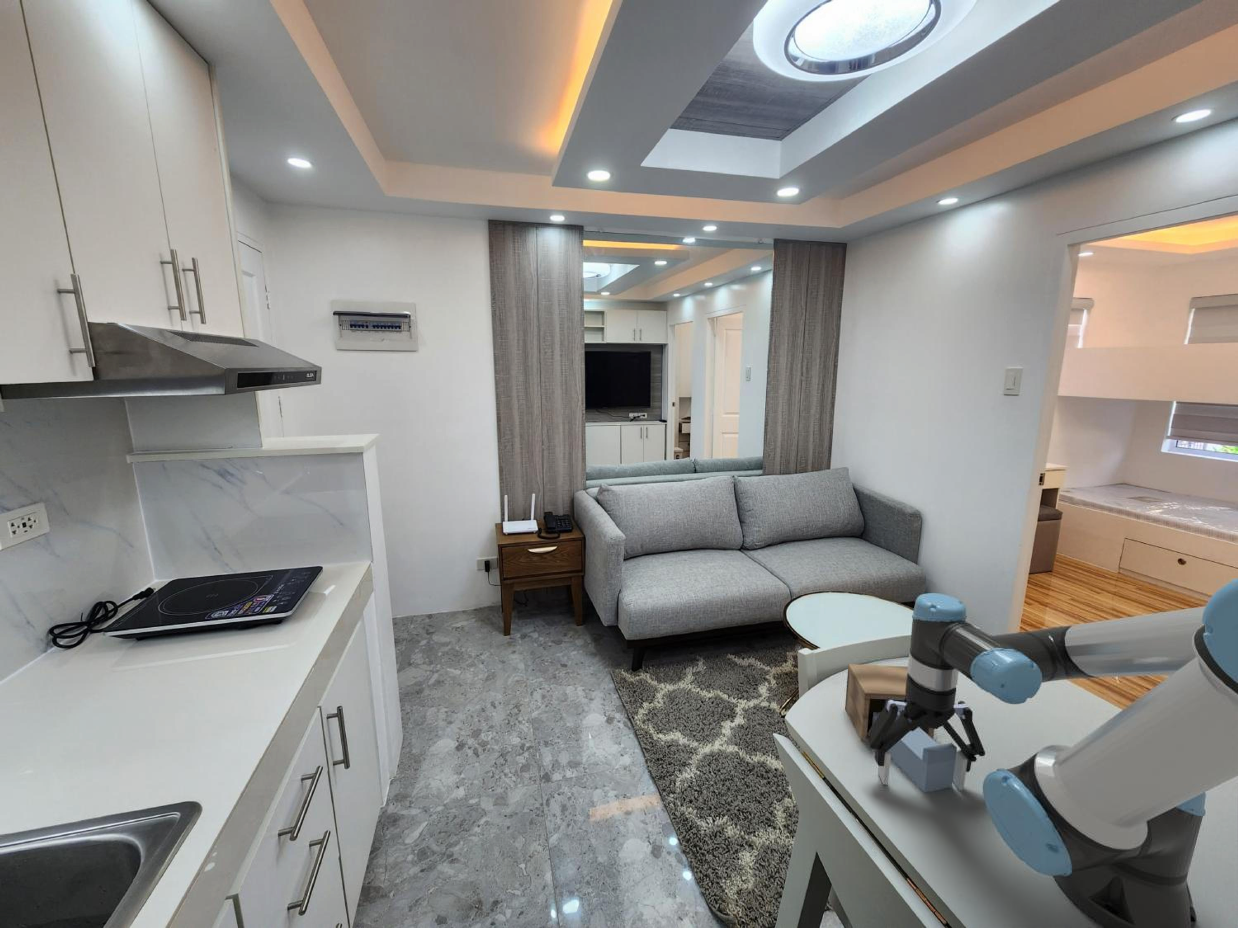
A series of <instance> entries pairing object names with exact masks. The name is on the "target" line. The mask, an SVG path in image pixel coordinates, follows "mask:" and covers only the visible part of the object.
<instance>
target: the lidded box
mask: <svg viewBox="0 0 1238 928" xmlns="http://www.w3.org/2000/svg"><path fill="white" fill-rule="evenodd" d="M880 713H881V712H877V713H872V725H873V724H874V722H875V721H876V719H877V718H878V716H879V715H880ZM901 713H902V712H900V714H901ZM899 716H900V715H899ZM899 716H898V715H897V718H896V720H897V719H898V718H899ZM908 719H909V721H910V722H911V721H912V720H911V719H910V718H908ZM896 720H895V721H896ZM872 725H871V726H872ZM957 748H958V747H957V746H956V745H955V744H953V743H952V742H949V743H944V744H939V743H938V742H937V741H935V740H934V738H933V739H932V738H931V737H930V736H928V735H927V734H926V733H925V732H924V731H923V730H922V729H921V728H919V727H918V728H917V729H915V730H914V731H910V732H909V733H907V734H906V735H905V736H904V737H903V738H902V739H901V740H899V741H898V742H897V743H896V744H895V745H894V746H893V747H892V748H890V749H889V752H890V754H891V759H890V760H892V761H893V762H894V763H895V764H896V765H897V766H898V767H899V768H900V769H901V770H902V771H903V772H904V774H906V775H907V776H908V778H909V779H910V780H911V781H912V782H913V783H914V784H915V785H917V787H918V788H919V789H920V790H921V791H922V792H923V793H924V794H925V793H930V792H933V791H937V790H942V789H946V788H951V787H953V783H954V782H953V774H954V767H955V759H956V751H957Z"/></svg>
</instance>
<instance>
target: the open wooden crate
mask: <svg viewBox="0 0 1238 928" xmlns="http://www.w3.org/2000/svg"><path fill="white" fill-rule="evenodd" d="M847 665H848V666H847V677H846V688H845V689H846V690H845V693H846V694H845V706H844V709H845V711H846V712H847V715H848V718H849V719H850V721H851V723H852V725H853V727H854V729H855V731H856V733H857V735H858V737H859V739H860V741H863V742H867V740H866V738H865V736H866V734H867V733H868V724H869V715H870V714H869V713H872V714H873V713H877V712H882V710H883V709H884V707H885V702H886V698H888V697H891V698H892V699H893V701H898V702H903V700H904V699H905V697H906V692H905V690H906V680H907V674H908V666H902V665H901V666H900V665H899V666H898V665H897V666H896V665H875V664H854V663H848V664H847ZM903 711H904V710H902V711H901V712H903ZM909 719H910V720H911V718H910V717H909ZM919 728H920V727H919ZM921 729H922V730H923V731H924V732H925V733H926V734H927V735H928V736H930V737H931V738H932V739H933V740H934V738H935V737H934V736H935V729H933V728H921Z"/></svg>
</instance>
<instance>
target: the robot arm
mask: <svg viewBox="0 0 1238 928" xmlns="http://www.w3.org/2000/svg"><path fill="white" fill-rule="evenodd" d="M914 603H915V604H914V607H913V612H912V615H911V618H912V621H911V622H912V623H911V632H910V633H911V634H910V645H909V654H908V663H907V667H908V674H907V680H906V690H905V692H906V697H905V699H904V700H903V702H898V701H893V699H892V698H891V697H888V698H886V702H885V707H884V709H883V710H882V712H881V713H880V715H879V716H878V718H877V719H876V721H875V722H874V724H873V725H871V727H870V728H869V730H867V734H866V736H865V738H866V742H867V744H868V746H869V748H870V749H871V750H875V751H874V761H875V762H876V764H877V766H878V768H877V774H878V776H879V778H880V780H881V782H882V784H883V785H887V786H888V785H889V776H890V767H891V760H892V759H891V754H890V752H889V749H890V748H892V747H893V746H894V745H895V744H896V743H897V742H898V741H899V740H901V739H902V738H903V737H904V736H905V735H906V734H907V733H909V732H910V731H914V730H915V729H917V728H918V727H920V728H933V729H934V730H938V729H939V728H941V727H942V728H943V729H944V730H945V731H946V732H947V734H948V735H949V736H950V737H951V739H952V740H953V742H954V743H956V745H957V746H958V747H957V751H956V759H955V767H954V774H953V782H952V783H953V784H954V785H955V787H956V788H957V789H958V791H964V790H965V789H964V787H965V781H966V774H967V772H968V773H969V772H970V771H971V767H972V763H976V761H977V760H978V759H977V757H976V756H979V757H984V756H985V755H986V751H985V748H984V746H983V744H982V742H981V738H980V737H979V734H978V732H977V729H976V727H975V725H974V722H973V713H974V712H973V711H972V709H971V708H970V707H969V706H968V705H967V703H966V702H965V701H963V700H960V701H958V702H957V704H955V703H956V694H957V685H958V680H959V673H961V675H964V676H965V677H966V678H967V679H969V680H970V681H971V682H973V683H974V684H976V686H978V688H980V690H982V691H984V692H986V693H989V694H990V695H992V696H994V697H995V698H996V699H997V700H1000V701H1001V702H1003V703H1006V704H1010V705H1020V704H1025V703H1026V702H1027V700H1028V699H1032V698H1034V697H1035V696H1036V695H1037V693H1038V692H1039V690H1040V688H1041V686H1042V684H1043V683H1047V682H1048V683H1049V682H1055V681H1064V680H1065V681H1066V680H1075V679H1076V680H1077V679H1078V680H1079V679H1098V678H1117V677H1118V678H1119V677H1123V678H1124V677H1143V676H1144V677H1145V676H1146V677H1147V676H1168V677H1167V678H1165V679H1164V680H1162V681H1161V682H1159V683H1158V684H1157V685H1155V686H1154V687H1153V688H1151V689H1150V690H1149V691H1147V692H1146V693H1144V694H1143V695H1141V696H1140V697H1139V698H1137V699H1136V700H1135V701H1133V702H1132V703H1131V704H1129V705H1127V706H1126V707H1125V708H1123V709H1122V710H1121V711H1120V712H1118V713H1117V714H1115V715H1114V716H1113V717H1111V718H1110V719H1108V720H1107V721H1106V722H1104V723H1103V724H1101V725H1100V726H1099V727H1097V728H1096V729H1094V730H1092V732H1090V733H1089V734H1087V735H1086V736H1085V737H1083V738H1082V739H1081V740H1079V741H1077V742H1076V743H1075V744H1074V745H1072V746H1067V745H1063V744H1062V745H1061V744H1051V745H1047V746H1045V747H1043V748H1041V749H1040V750H1038V751H1037V752H1035V754H1034V755H1032V756H1030V757H1029V758H1028V759H1026V760H1025V761H1024V762H1023V763H1020V764H1019V765H1017V766H1014V767H1009V768H1006V769H1005V768H997V769H996V770H995V771H991V772H990V773H988V774H986V776H985V777H984V778H983V779H984V780H983V782H982V795H983V799H984V802H985V808H986V810H987V813H988V815H989V818H990V819H991V821H992V824H993V825H994V827H995V829H996V830H997V832H998V834H999V835H1000V837H1001V838H1002V840H1003V841H1004V843H1005V844H1006V846H1007V847H1008V848H1009V849H1010V850H1011V852H1013V854H1014V855H1016V857H1017V858H1019V859H1020V861H1021V862H1024V863H1025V864H1026V865H1027V866H1028V867H1030V868H1031V869H1032V870H1033V871H1035V872H1037V873H1038V874H1039V873H1040V874H1041V875H1045V876H1052V877H1053V878H1054V880H1055V882H1056V883H1057V884H1058V886H1059V887H1060V889H1061V890H1062V891H1063V892H1064V894H1065V895H1066V896H1067V897H1068V898H1069V899H1070V900H1071V901H1072V903H1074V904H1075V906H1077V907H1078V909H1080V910H1081V911H1082V912H1084V913H1085V914H1086V915H1087V916H1088V917H1090V918H1091V919H1092V920H1094V921H1095V922H1097V923H1098V924H1100V925H1101V926H1102V927H1104V928H1198V917H1197V915H1196V910H1195V908H1194V903H1193V899H1192V895H1191V891H1190V890H1191V889H1190V886H1189V882H1188V875H1189V873H1190V872H1189V871H1190V868H1191V863H1192V859H1193V857H1194V851H1195V848H1196V844H1197V840H1198V837H1199V833H1200V829H1201V826H1202V822H1203V818H1204V817H1205V816H1206V809H1205V804H1206V799H1207V798H1206V797H1207V795H1206V792H1208V791H1210V790H1213V788H1217V787H1218V786H1221V785H1222V784H1224V783H1226V782H1228V781H1230V780H1233V779H1234V778H1236V777H1238V577H1237V578H1234V579H1232V580H1230V581H1229V582H1228V583H1226V584H1224V585H1223V586H1221V587H1220V588H1219V589H1218V590H1217V591H1215V593H1214V594H1213V595H1212V596H1211V597H1210V598H1209V600H1208V601H1207V603H1206V605H1205V606H1203V605H1202V606H1198V607H1197V606H1196V607H1191V608H1184V609H1176V610H1171V611H1162V612H1157V613H1156V612H1155V613H1149V614H1141V615H1136V616H1134V615H1133V616H1126V617H1120V618H1113V619H1108V620H1107V619H1106V620H1100V621H1093V622H1086V623H1085V622H1084V623H1079V624H1072V625H1061V626H1053V627H1050V628H1043V629H1037V630H1036V629H1035V630H1027V631H1021V632H1013V633H1005V634H1004V633H1003V634H996V635H991V634H988V633H986V632H984V631H983V630H981V629H979V628H978V627H976V626H974V625H973V624H971V623H969V622H968V621H966V620H967V617H968V615H967V607H966V606H965V605H964V603H963V602H962V601H961V600H960V599H958V598H956V597H953V596H951V595H947V594H945V593H944V594H943V593H934V592H932V593H931V592H930V593H929V592H928V593H923V594H920V595H919V596H917V598H916V599H915V602H914ZM902 710H904V711H903V712H902V713H901V714H900V712H901V711H902ZM955 714H956V716H957V717H958V718H959V719H960V722H961V725H962V728H963V729H964V732H965V734H966V737H967V739H968V742H969V743H968V744H967V743H965V741H964V740H963V739H962V737H961V736H960V734H959V733H958V732H957V731H956V730H955V729H954V727H953V726H952V724H951V723H950V722H949V720H950V719H951V718H952V717H954V716H955ZM897 715H898V716H899V715H900V716H899V718H898V719H897V720H896V718H897ZM909 717H910V718H911V719H910V718H909ZM908 718H909V719H910V720H912V721H911V722H910V721H909V719H908ZM895 720H896V721H895Z"/></svg>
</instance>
